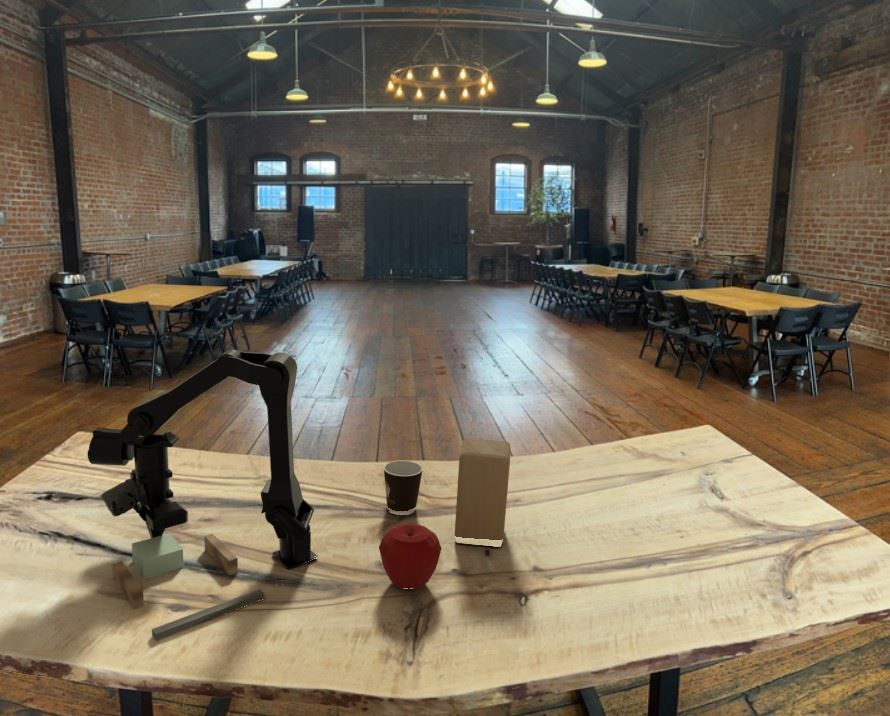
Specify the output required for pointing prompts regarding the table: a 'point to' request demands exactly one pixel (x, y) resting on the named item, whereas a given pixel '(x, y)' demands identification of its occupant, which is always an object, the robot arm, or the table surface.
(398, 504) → the coffee mug
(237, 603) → the set of wooden bars
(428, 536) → the apple
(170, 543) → the sage block
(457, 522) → the wooden block
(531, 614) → the table surface
